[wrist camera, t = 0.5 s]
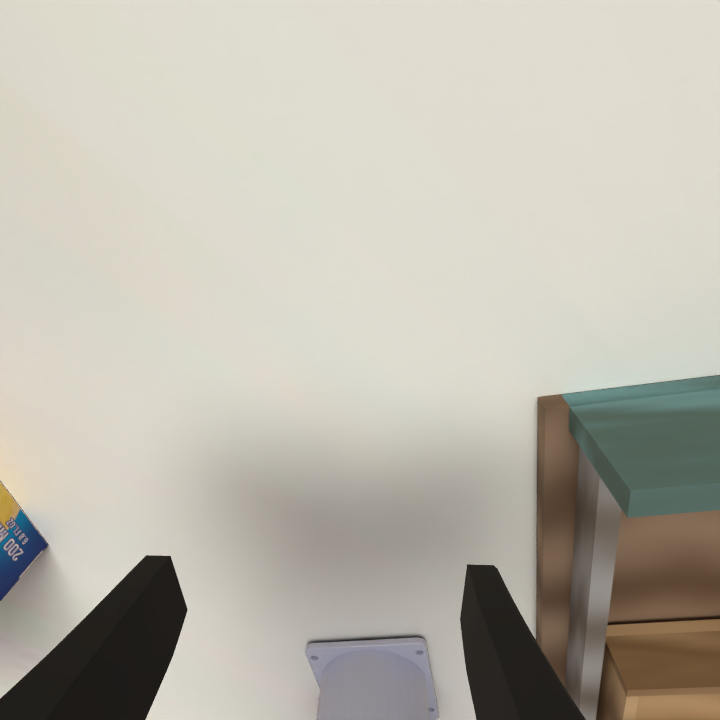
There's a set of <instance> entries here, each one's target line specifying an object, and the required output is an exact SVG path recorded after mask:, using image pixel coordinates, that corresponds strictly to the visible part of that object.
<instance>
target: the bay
mask: <svg viewBox="0 0 720 720" xmlns="http://www.w3.org/2000/svg"><path fill="white" fill-rule="evenodd" d="M712 619H720V375H718V376H710V377H701V378H693V379H685V380H677V381H668V382H660V383H652V384H644V385H635V386H627V387H619V388H611V389H602V390H594V391H586V392H577V393H569V394H561V395H553V396H544V397H538V464H537V643H538V645H539V647H540V648H541V650H542V652H543V653H544V655H545V657H546V658H547V660H548V661H549V663H550V665H551V666H552V668H553V670H554V671H555V673H556V674H557V676H558V678H559V679H560V681H561V682H562V684H563V686H564V687H565V689H566V690H567V692H568V693H569V695H570V696H571V698H572V700H573V701H574V703H575V704H576V706H577V707H578V709H579V710H580V711H581V713H582V714H583V716H584V717H585V719H586V720H596V714H597V705H598V697H599V689H600V681H601V673H602V665H603V657H604V649H605V641H606V632H607V625H621V624H639V623H658V622H676V621H694V620H712Z"/></svg>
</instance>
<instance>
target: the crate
mask: <svg viewBox="0 0 720 720" xmlns="http://www.w3.org/2000/svg"><path fill="white" fill-rule="evenodd" d="M596 720H720V619H712V620H694V621H676V622H658V623H639V624H621V625H607V632H606V641H605V649H604V657H603V665H602V673H601V681H600V689H599V697H598V705H597V714H596Z"/></svg>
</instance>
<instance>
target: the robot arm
mask: <svg viewBox="0 0 720 720" xmlns="http://www.w3.org/2000/svg"><path fill="white" fill-rule="evenodd" d="M186 613H187V606H186V603H185V600H184V597H183V594H182V591H181V588H180V585H179V581H178V578H177V575H176V572H175V569H174V566H173V563H172V560H171V556H148V555H147V556H145V557H144V558H143V559H142V560H141V561H140V562H139V563H138V564H137V565H136V566H135V567H134V568H133V569H132V570H131V571H130V572H129V573H128V574H127V575H126V577H125V578H124V579H123V580H122V581H121V582H120V583H119V584H118V585H117V586H116V587H115V588H114V589H113V590H112V591H111V592H110V593H109V594H108V595H107V596H106V597H105V598H104V599H103V600H102V601H101V602H100V603H99V604H98V605H97V606H96V607H95V608H94V609H93V610H92V611H91V612H90V613H89V614H88V615H87V616H86V617H85V618H84V619H83V620H82V621H81V622H80V623H79V624H78V625H77V626H76V627H75V628H74V629H73V630H72V631H71V632H70V633H69V634H68V635H67V636H66V637H65V638H64V639H63V640H62V641H61V642H60V643H59V644H58V645H57V646H56V647H55V648H54V649H53V650H52V651H51V652H50V653H49V654H48V655H47V656H46V657H45V658H44V659H43V660H41V661H40V662H39V663H38V664H37V665H36V666H35V667H34V668H33V669H32V670H31V671H30V672H29V673H28V674H27V675H25V676H24V677H23V678H22V679H21V680H20V681H19V682H18V683H17V684H16V685H15V686H14V687H13V688H12V689H10V690H9V691H8V692H7V693H6V694H5V695H4V696H3V697H2V698H1V699H0V720H145V719H146V717H147V715H148V712H149V710H150V708H151V706H152V703H153V701H154V699H155V696H156V694H157V692H158V689H159V687H160V685H161V683H162V680H163V678H164V676H165V673H166V671H167V669H168V666H169V664H170V661H171V659H172V657H173V654H174V651H175V648H176V645H177V642H178V639H179V636H180V632H181V629H182V626H183V623H184V619H185V616H186ZM460 622H461V630H462V639H463V648H464V656H465V663H466V671H467V676H468V681H469V685H470V690H471V695H472V700H473V704H474V709H475V714H476V719H477V720H586V719H585V717H584V716H583V714H582V713H581V711H580V710H579V709H578V707H577V706H576V704H575V703H574V701H573V700H572V698H571V696H570V695H569V693H568V692H567V690H566V689H565V687H564V686H563V684H562V682H561V681H560V679H559V678H558V676H557V674H556V673H555V671H554V670H553V668H552V666H551V665H550V663H549V661H548V660H547V658H546V657H545V655H544V653H543V652H542V650H541V648H540V647H539V645H538V643H537V642H536V640H535V638H534V637H533V635H532V633H531V631H530V630H529V628H528V626H527V624H526V623H525V621H524V619H523V617H522V615H521V614H520V612H519V610H518V608H517V606H516V604H515V603H514V601H513V599H512V597H511V595H510V593H509V591H508V589H507V587H506V585H505V583H504V581H503V579H502V577H501V575H500V573H499V571H498V569H497V568H496V567H495V566H494V565H467V571H466V578H465V586H464V594H463V602H462V610H461V617H460ZM306 655H307V658H308V660H309V663H310V665H311V668H312V670H313V673H314V675H315V678H316V680H317V683H318V685H319V688H320V693H319V702H318V710H317V718H316V720H436V719H438V718H439V710H438V705H437V700H436V694H435V689H434V683H433V678H432V672H431V667H430V662H429V656H428V651H427V645H426V641H425V640H424V639H423V638H419V637H416V638H397V639H379V640H360V641H342V642H324V643H310V644H308V645H307V646H306Z"/></svg>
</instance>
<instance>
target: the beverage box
mask: <svg viewBox="0 0 720 720" xmlns="http://www.w3.org/2000/svg"><path fill="white" fill-rule="evenodd" d="M47 546H48V543H47V542H46V540H45V539H44V538H43V537H42V535H41V534H40V533H39V531H38V530H37V529H36V527H35V526H34V525H33V523H32V522H31V521H30V520H29V518H28V517H27V516H26V514H25V513H24V512H23V510H22V509H21V508H20V507H19V505H18V504H17V503H16V501H15V500H14V499H13V497H12V496H11V495H10V493H9V492H8V491H7V490H6V488H5V487H4V486H3V484H2V483H1V482H0V601H1V600H2V599H3V597H4V596H5V595H6V594H7V593H8V592H9V590H10V589H11V588H12V587H13V586H14V585H15V583H16V582H17V581H18V580H19V579H20V578H21V576H22V575H23V574H24V573H25V572H26V571H27V569H28V568H29V567H30V566H31V565H32V563H33V562H34V561H35V560H36V559H37V558H38V556H39V555H40V554H41V553H42V552H43V551H44V549H45V548H46V547H47Z"/></svg>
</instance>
